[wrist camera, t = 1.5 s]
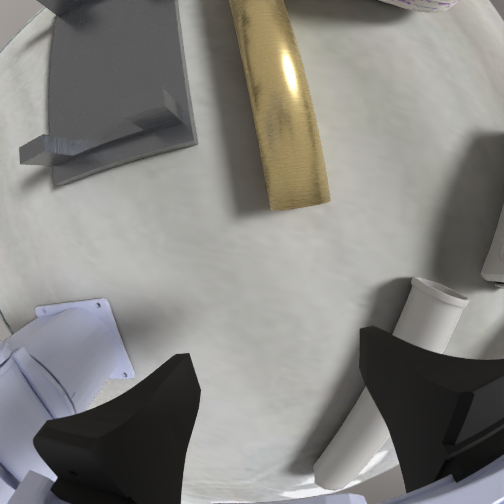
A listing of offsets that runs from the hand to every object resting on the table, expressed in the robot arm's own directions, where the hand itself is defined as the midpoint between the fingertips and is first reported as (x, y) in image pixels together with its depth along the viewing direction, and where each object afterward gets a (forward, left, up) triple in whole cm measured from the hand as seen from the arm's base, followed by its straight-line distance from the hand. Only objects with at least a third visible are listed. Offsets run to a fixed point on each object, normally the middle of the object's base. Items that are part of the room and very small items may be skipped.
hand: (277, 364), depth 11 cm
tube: (+9, -14, -11) cm, 20 cm away
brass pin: (+3, +16, -11) cm, 20 cm away
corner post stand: (-9, +21, -11) cm, 25 cm away
